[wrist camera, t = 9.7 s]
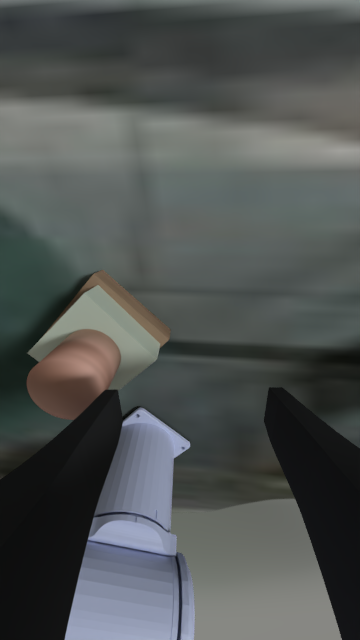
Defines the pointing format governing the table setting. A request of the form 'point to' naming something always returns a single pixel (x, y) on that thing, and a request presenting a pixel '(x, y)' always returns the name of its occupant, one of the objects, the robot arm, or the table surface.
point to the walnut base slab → (124, 306)
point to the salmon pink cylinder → (74, 373)
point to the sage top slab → (111, 320)
